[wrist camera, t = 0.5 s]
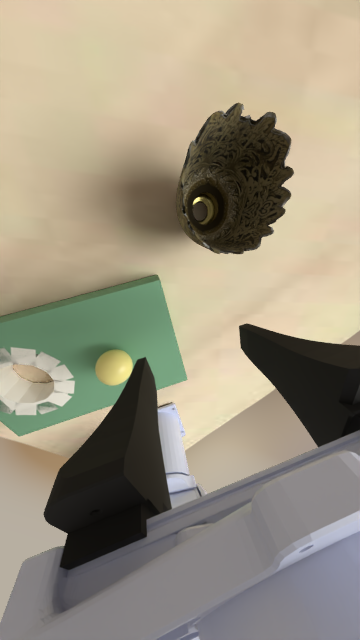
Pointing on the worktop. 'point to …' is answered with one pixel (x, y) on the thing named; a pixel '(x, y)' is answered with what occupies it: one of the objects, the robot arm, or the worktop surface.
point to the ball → (113, 367)
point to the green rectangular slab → (83, 352)
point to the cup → (234, 181)
